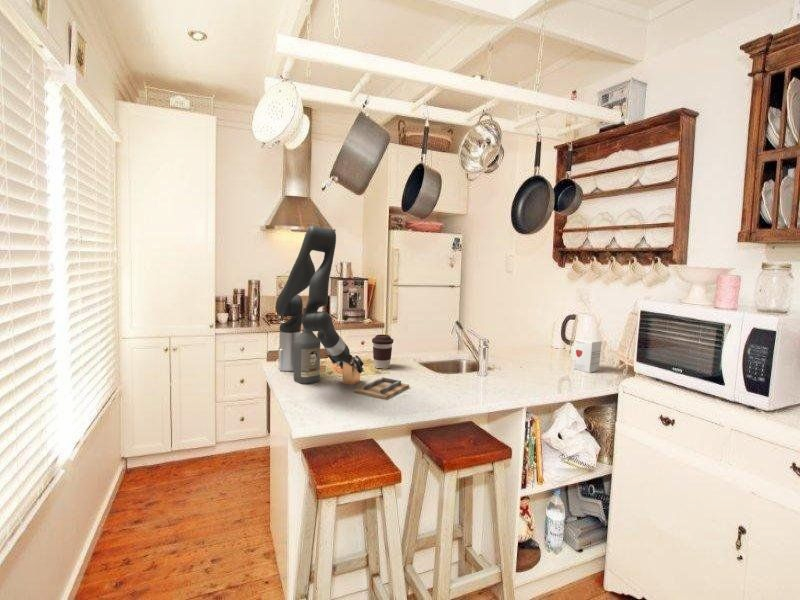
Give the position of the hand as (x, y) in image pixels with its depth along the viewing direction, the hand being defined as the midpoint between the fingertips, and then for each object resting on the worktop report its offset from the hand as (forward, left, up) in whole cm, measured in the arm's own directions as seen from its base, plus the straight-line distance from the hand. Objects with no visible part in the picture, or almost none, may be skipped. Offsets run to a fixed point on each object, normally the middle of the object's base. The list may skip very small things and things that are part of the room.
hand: (352, 369), depth 183 cm
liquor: (-18, +7, -5) cm, 19 cm away
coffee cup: (+19, +18, -5) cm, 27 cm away
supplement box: (+115, -11, -5) cm, 116 cm away
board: (+8, -13, -5) cm, 17 cm away
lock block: (-1, 0, -5) cm, 5 cm away
